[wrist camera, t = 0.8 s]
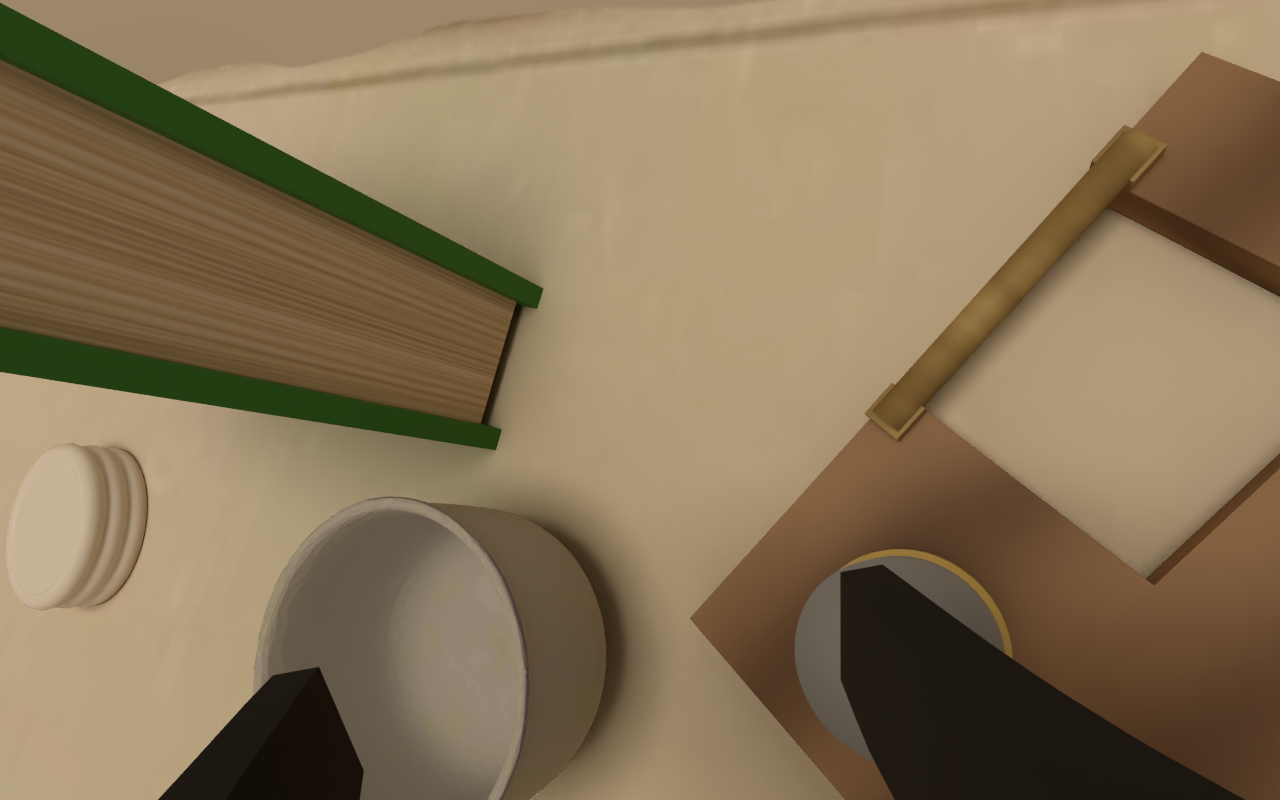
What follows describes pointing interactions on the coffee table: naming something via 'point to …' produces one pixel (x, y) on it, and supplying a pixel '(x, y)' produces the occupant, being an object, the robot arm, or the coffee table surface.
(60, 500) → the stack of white coasters
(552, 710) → the teacup
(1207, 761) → the shelf board
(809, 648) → the gold-banded grey cylinder
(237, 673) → the coffee table surface
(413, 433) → the hardback book
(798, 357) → the coffee table surface
